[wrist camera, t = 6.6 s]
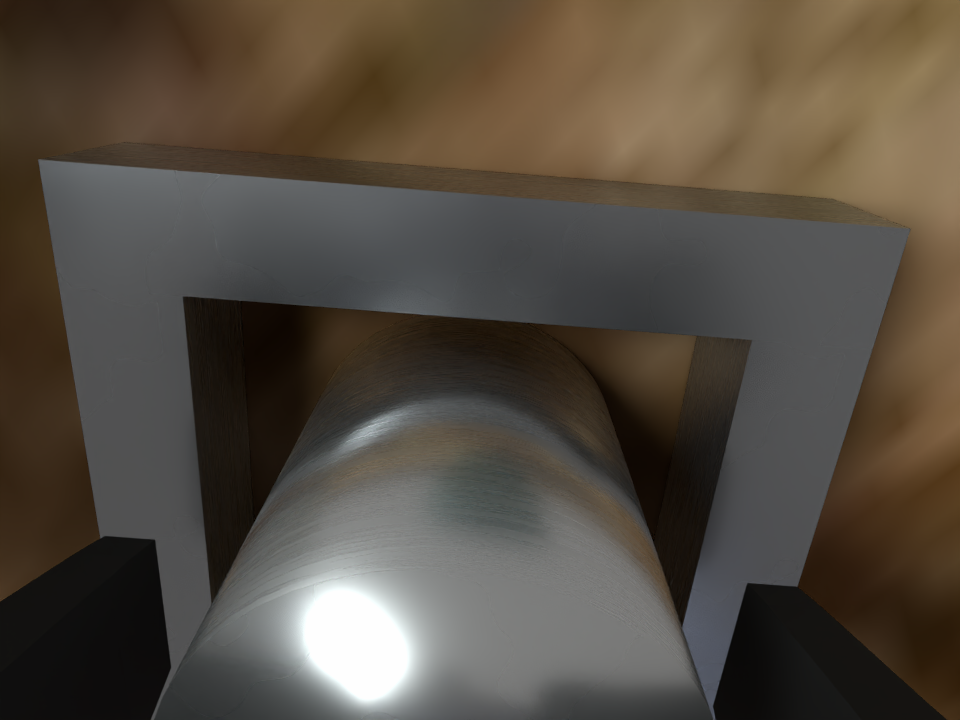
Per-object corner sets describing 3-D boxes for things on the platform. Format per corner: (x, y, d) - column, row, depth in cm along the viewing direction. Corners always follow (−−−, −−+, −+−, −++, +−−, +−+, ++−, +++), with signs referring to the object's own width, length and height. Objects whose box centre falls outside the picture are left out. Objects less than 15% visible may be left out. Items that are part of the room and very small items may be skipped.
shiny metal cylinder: (608, 570, 13) (699, 967, 7) (331, 575, 13) (205, 968, 7) (619, 305, 11) (759, 563, 5) (293, 314, 11) (84, 575, 5)
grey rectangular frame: (832, 199, 10) (911, 228, 8) (695, 710, 14) (727, 810, 12) (124, 142, 10) (38, 159, 8) (186, 675, 14) (138, 770, 12)
